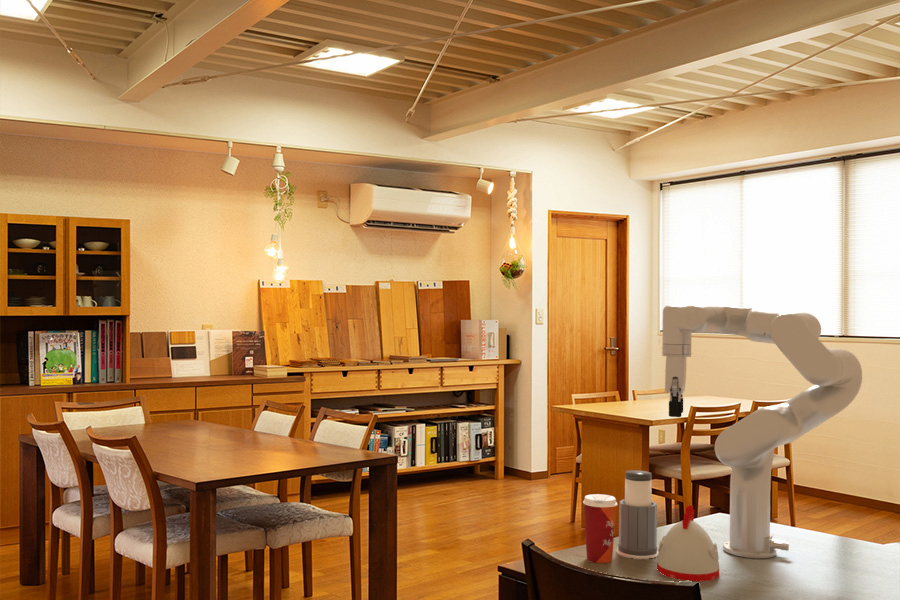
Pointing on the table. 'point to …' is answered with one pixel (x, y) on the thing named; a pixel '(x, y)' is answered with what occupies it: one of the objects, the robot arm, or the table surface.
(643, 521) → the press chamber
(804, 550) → the table surface
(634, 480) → the plunger
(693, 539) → the kitchen timer
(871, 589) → the table surface
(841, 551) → the table surface
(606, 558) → the coffee cup
